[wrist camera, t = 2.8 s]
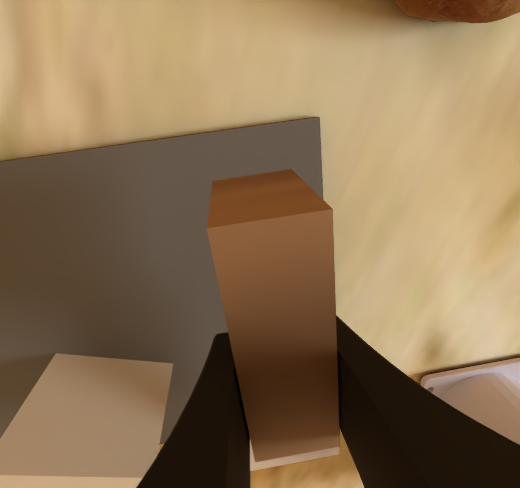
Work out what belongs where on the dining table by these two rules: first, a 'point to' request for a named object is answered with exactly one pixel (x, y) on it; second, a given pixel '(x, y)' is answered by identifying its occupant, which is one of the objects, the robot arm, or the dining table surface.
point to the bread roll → (460, 9)
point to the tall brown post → (279, 312)
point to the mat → (125, 251)
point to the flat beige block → (87, 425)
